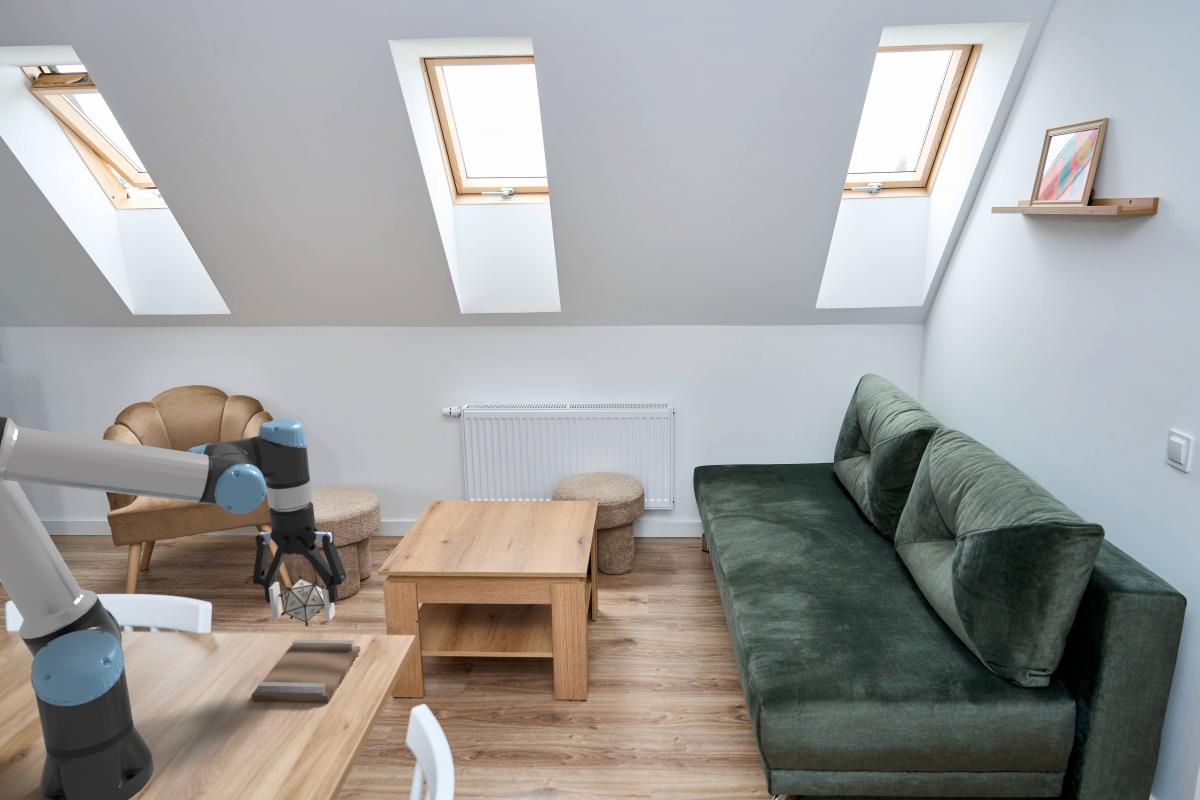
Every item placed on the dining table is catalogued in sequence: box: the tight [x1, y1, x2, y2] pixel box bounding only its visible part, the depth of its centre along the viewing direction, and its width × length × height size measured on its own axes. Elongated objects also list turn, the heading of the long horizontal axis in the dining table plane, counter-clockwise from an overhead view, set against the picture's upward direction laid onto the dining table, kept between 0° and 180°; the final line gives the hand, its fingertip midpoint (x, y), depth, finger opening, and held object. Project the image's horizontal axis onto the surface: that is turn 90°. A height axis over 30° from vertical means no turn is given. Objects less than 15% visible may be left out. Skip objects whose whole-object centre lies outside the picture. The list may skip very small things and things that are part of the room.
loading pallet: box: [251, 639, 361, 704], centre depth 160 cm, size 17×14×3 cm
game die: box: [278, 574, 325, 628], centre depth 157 cm, size 9×8×10 cm
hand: (304, 617), depth 158 cm, fingers closed on game die, 9 cm apart
